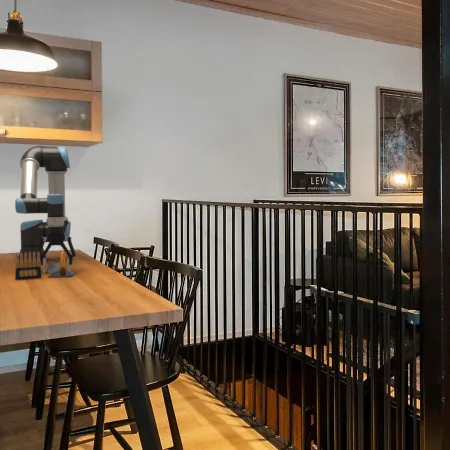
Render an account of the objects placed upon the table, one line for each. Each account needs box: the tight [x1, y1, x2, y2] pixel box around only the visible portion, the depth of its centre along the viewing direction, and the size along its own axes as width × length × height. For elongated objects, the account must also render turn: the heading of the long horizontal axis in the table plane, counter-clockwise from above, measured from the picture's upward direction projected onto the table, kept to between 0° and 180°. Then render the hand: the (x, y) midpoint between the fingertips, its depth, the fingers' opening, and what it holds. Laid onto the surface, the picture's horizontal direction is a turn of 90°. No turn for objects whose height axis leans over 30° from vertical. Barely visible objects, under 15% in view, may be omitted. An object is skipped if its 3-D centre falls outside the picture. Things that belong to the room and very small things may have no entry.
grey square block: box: [47, 260, 60, 274], centre depth 227 cm, size 6×6×5 cm
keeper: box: [47, 251, 78, 279], centre depth 218 cm, size 12×10×11 cm
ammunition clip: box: [14, 251, 43, 281], centre depth 210 cm, size 11×2×12 cm, turn 118°
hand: (56, 271), depth 227 cm, fingers open, 10 cm apart
